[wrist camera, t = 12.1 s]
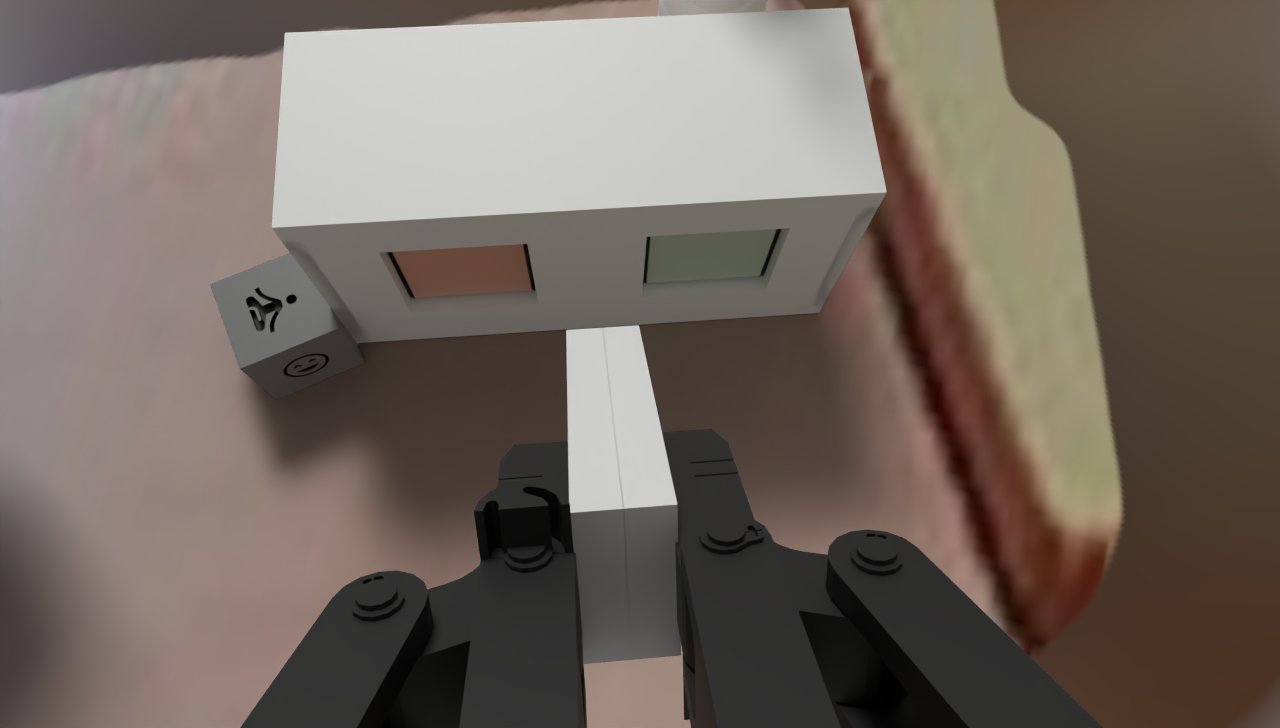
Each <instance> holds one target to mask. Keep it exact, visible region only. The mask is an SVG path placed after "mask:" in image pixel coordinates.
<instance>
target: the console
mask: <svg viewBox="0 0 1280 728" xmlns="http://www.w3.org/2000/svg"><path fill="white" fill-rule="evenodd" d="M886 193H887V191H886V187H885V182H884V177H883V172H882V167H881V163H880V158H879V153H878V148H877V143H876V139H875V134H874V129H873V124H872V119H871V115H870V110H869V105H868V100H867V95H866V90H865V86H864V81H863V76H862V71H861V66H860V62H859V57H858V52H857V47H856V42H855V38H854V33H853V28H852V23H851V18H850V14H849V9H848V8H833V9H812V10H789V11H766V12H744V13H721V14H699V15H676V16H654V17H631V18H609V19H586V20H564V21H542V22H519V23H497V24H474V25H452V26H429V27H409V28H408V27H407V28H385V29H362V30H340V31H317V32H295V33H285V41H284V55H283V70H282V85H281V100H280V114H279V129H278V144H277V159H276V173H275V188H274V203H273V218H272V229H273V230H274V231H275V233H276V234H277V235H278V237H279V238H280V239H281V241H282V242H283V244H284V245H285V246H286V248H287V249H288V250H289V252H290V253H291V254H292V256H293V257H294V258H295V260H296V261H297V262H298V264H299V265H300V267H301V268H302V269H303V271H304V272H305V273H306V275H307V276H308V277H309V279H310V280H311V281H312V283H313V284H314V285H315V287H316V288H317V290H318V291H319V292H320V294H321V295H322V296H323V298H324V299H325V300H326V302H327V303H328V304H329V306H330V307H331V308H332V310H333V311H334V313H335V314H336V315H337V317H338V318H339V319H340V321H341V322H342V323H343V325H344V326H345V327H346V329H347V330H348V331H349V333H350V334H351V336H352V337H353V338H354V340H355V341H356V342H357V343H367V342H382V341H397V340H413V339H428V338H443V337H458V336H474V335H489V334H504V333H519V332H535V331H550V330H565V329H580V328H596V327H611V326H626V325H642V324H657V323H672V322H687V321H703V320H718V319H733V318H748V317H764V316H779V315H794V314H809V313H819V312H820V310H821V308H822V307H823V305H824V303H825V301H826V300H827V298H828V296H829V294H830V292H831V291H832V289H833V287H834V285H835V284H836V282H837V280H838V278H839V276H840V275H841V273H842V271H843V269H844V268H845V266H846V264H847V262H848V260H849V259H850V257H851V255H852V253H853V251H854V250H855V248H856V246H857V244H858V243H859V241H860V239H861V237H862V235H863V234H864V232H865V230H866V228H867V227H868V225H869V223H870V221H871V219H872V218H873V216H874V214H875V212H876V211H877V209H878V207H879V205H880V203H881V202H882V200H883V198H884V196H885V195H886ZM767 229H777V230H776V233H775V235H774V238H773V241H772V244H771V246H770V249H769V252H768V255H767V257H766V260H765V263H764V265H763V268H762V271H761V274H760V276H752V277H736V278H720V279H704V280H689V281H673V282H657V283H647V282H646V272H645V252H646V239H647V237H650V236H667V235H683V234H700V233H717V232H734V231H751V230H767ZM516 244H527V245H528V250H529V256H530V264H531V285H532V290H529V291H513V292H497V293H481V294H465V295H449V296H433V297H417V298H415V296H414V294H413V292H412V291H411V289H410V287H409V285H408V283H407V281H406V279H405V277H404V275H403V273H402V271H401V269H400V267H399V265H398V263H397V261H396V259H395V257H394V255H393V253H392V252H398V251H415V250H432V249H448V248H465V247H482V246H499V245H516Z"/></svg>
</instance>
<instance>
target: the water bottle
mask: <svg viewBox="0 0 1280 728" xmlns="http://www.w3.org/2000/svg"><path fill="white" fill-rule="evenodd" d="M766 4H767V0H659V5H658V10H659V12H658V16H676V15H699V14H721V13H744V12H765V11H766Z"/></svg>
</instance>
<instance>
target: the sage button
mask: <svg viewBox="0 0 1280 728" xmlns="http://www.w3.org/2000/svg"><path fill="white" fill-rule="evenodd" d="M776 230H777V229H767V230H751V231H734V232H717V233H700V234H683V235H667V236H650V237H647V239H646V252H645V272H646V282H647V283H657V282H673V281H689V280H704V279H720V278H736V277H752V276H760V274H761V271H762V268H763V265H764V263H765V260H766V257H767V255H768V252H769V249H770V246H771V244H772V241H773V238H774V235H775V233H776Z"/></svg>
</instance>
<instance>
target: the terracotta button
mask: <svg viewBox="0 0 1280 728" xmlns="http://www.w3.org/2000/svg"><path fill="white" fill-rule="evenodd" d="M392 253H393V255H394V257H395V259H396V261H397V263H398V265H399V267H400V269H401V271H402V273H403V275H404V277H405V279H406V281H407V283H408V285H409V287H410V289H411V291H412V292H413V294H414V296H415V298H417V297H433V296H449V295H465V294H481V293H497V292H513V291H529V290H532V285H531V264H530V256H529V250H528V245H527V244H516V245H499V246H482V247H465V248H448V249H432V250H415V251H398V252H392Z"/></svg>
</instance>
